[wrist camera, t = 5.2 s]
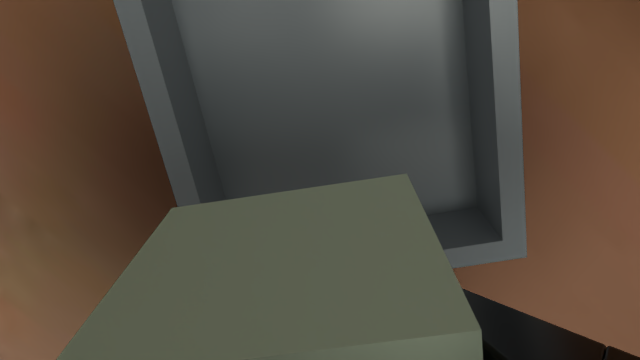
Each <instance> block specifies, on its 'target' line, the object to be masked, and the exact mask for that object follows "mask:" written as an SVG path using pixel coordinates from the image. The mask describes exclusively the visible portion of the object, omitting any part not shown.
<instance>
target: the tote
mask: <svg viewBox="0 0 640 360" xmlns="http://www.w3.org/2000/svg"><path fill="white" fill-rule="evenodd" d="M113 1H114V4H115V8H116V11H117V14H118V17H119V20H120V24H121V27H122V30H123V33H124V36H125V40H126V43H127V46H128V49H129V52H130V56H131V59H132V62H133V65H134V68H135V72H136V75H137V78H138V81H139V84H140V88H141V91H142V94H143V97H144V100H145V104H146V107H147V110H148V113H149V116H150V120H151V123H152V126H153V129H154V132H155V136H156V139H157V142H158V145H159V148H160V152H161V155H162V158H163V161H164V164H165V168H166V171H167V174H168V177H169V180H170V184H171V187H172V190H173V193H174V196H175V200H176V203H177V206H178V207H182V206H189V205H195V204H202V203H209V202H216V201H223V200H229V199H236V198H243V197H250V196H257V195H264V194H270V193H277V192H284V191H291V190H298V189H304V188H311V187H318V186H325V185H332V184H339V183H345V182H352V181H359V180H366V179H373V178H379V177H386V176H393V175H400V174H407V175H408V177H409V179H410V181H411V184H412V186H413V188H414V190H415V192H416V194H417V196H418V198H419V200H420V202H421V204H422V207H423V209H424V211H425V213H426V215H427V217H428V219H429V221H430V223H431V225H432V228H433V230H434V232H435V234H436V236H437V238H438V240H439V242H440V244H441V246H442V248H443V251H444V253H445V255H446V257H447V259H448V261H449V263H450V265H451V267H452V268H458V267H465V266H472V265H478V264H485V263H492V262H498V261H505V260H511V259H518V258H525V257H527V245H526V218H525V192H524V165H523V139H522V112H521V86H520V59H519V33H518V6H517V0H113Z"/></svg>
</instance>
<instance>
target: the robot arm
mask: <svg viewBox="0 0 640 360" xmlns="http://www.w3.org/2000/svg"><path fill="white" fill-rule="evenodd" d="M462 290H463V292H464V295H465V297H466V299H467V301H468V303H469V305H470V307H471V309H472V311H473V313H474V315H475V318H476V320H477V322H478V324H479V326H480V328H481V330H482V349H483V360H640V357H637V356H634V355H632V354H629V353H627V352H624V351H622V350H619V349H617V348H614V347H612V346H608V347H607V348H606V346H605V345H604V344H602V343H599V342H596V341H594V340H591V339H589V338H586V337H584V336H581V335H579V334H576V333H574V332H571V331H569V330H566V329H563V328H561V327H558V326H556V325H553V324H551V323H548V322H546V321H543V320H541V319H538V318H536V317H533V316H530V315H528V314H525V313H523V312H520V311H518V310H515V309H513V308H510V307H508V306H505V305H503V304H500V303H497V302H495V301H492V300H490V299H487V298H485V297H482V296H480V295H477V294H475V293H472V292H470V291H467V290H464V289H462Z"/></svg>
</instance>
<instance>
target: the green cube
mask: <svg viewBox="0 0 640 360" xmlns="http://www.w3.org/2000/svg"><path fill="white" fill-rule="evenodd" d="M56 360H483V349H482V330H481V328H480V326H479V324H478V322H477V320H476V318H475V315H474V313H473V311H472V309H471V307H470V305H469V303H468V301H467V299H466V297H465V295H464V292H463V290H462V288H461V286H460V284H459V282H458V280H457V278H456V276H455V274H454V271H453V269H452V267H451V265H450V263H449V261H448V259H447V257H446V255H445V253H444V251H443V248H442V246H441V244H440V242H439V240H438V238H437V236H436V234H435V232H434V230H433V228H432V225H431V223H430V221H429V219H428V217H427V215H426V213H425V211H424V209H423V207H422V204H421V202H420V200H419V198H418V196H417V194H416V192H415V190H414V188H413V186H412V184H411V181H410V179H409V177H408V175H407V174H400V175H393V176H386V177H379V178H373V179H366V180H359V181H352V182H345V183H339V184H332V185H325V186H318V187H311V188H304V189H298V190H291V191H284V192H277V193H270V194H264V195H257V196H250V197H243V198H236V199H229V200H223V201H216V202H209V203H202V204H195V205H189V206H182V207H175V208H172V209H171V210H170V211H169V212H168V214H167V215H166V216H165V218H164V219H163V220H162V222H161V223H160V224H159V226H158V227H157V228H156V229H155V231H154V232H153V233H152V235H151V236H150V237H149V239H148V240H147V241H146V243H145V244H144V245H143V247H142V248H141V249H140V250H139V252H138V253H137V254H136V256H135V257H134V258H133V260H132V261H131V262H130V264H129V265H128V266H127V267H126V269H125V270H124V271H123V273H122V274H121V275H120V277H119V278H118V279H117V281H116V282H115V283H114V285H113V286H112V287H111V288H110V290H109V291H108V292H107V294H106V295H105V296H104V298H103V299H102V300H101V302H100V303H99V304H98V305H97V307H96V308H95V309H94V311H93V312H92V313H91V315H90V316H89V317H88V319H87V320H86V321H85V323H84V324H83V325H82V326H81V328H80V329H79V330H78V332H77V333H76V334H75V336H74V337H73V338H72V340H71V341H70V342H69V344H68V345H67V346H66V347H65V349H64V350H63V351H62V353H61V354H60V355H59V357H58V358H57V359H56Z"/></svg>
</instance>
